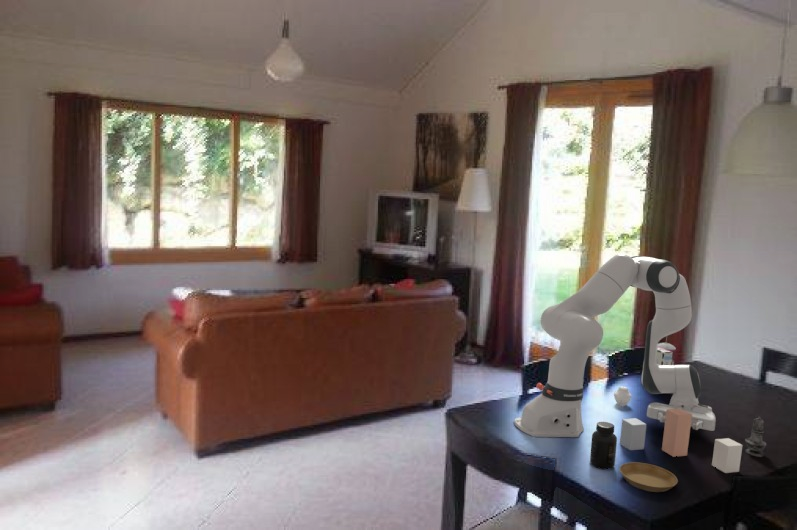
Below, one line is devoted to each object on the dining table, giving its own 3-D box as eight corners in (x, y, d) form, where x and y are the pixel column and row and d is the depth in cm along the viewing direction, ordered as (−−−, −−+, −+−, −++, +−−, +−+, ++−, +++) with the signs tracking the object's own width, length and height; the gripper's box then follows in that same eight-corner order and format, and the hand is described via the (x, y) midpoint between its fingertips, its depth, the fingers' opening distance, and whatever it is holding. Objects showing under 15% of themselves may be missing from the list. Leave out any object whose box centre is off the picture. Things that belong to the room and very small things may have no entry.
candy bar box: (669, 392, 254) (674, 352, 252) (658, 392, 252) (663, 352, 250) (650, 383, 264) (654, 344, 262) (640, 383, 263) (644, 345, 261)
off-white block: (725, 473, 183) (728, 446, 182) (711, 465, 187) (715, 439, 186) (738, 471, 184) (742, 445, 183) (725, 464, 189) (728, 438, 188)
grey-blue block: (630, 450, 195) (632, 425, 194) (619, 443, 199) (622, 419, 198) (643, 449, 196) (646, 424, 195) (633, 442, 201) (635, 418, 200)
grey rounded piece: (634, 406, 234) (636, 388, 234) (621, 408, 232) (623, 389, 231) (621, 401, 240) (623, 383, 239) (609, 402, 237) (611, 384, 236)
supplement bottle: (609, 459, 187) (613, 420, 185) (618, 470, 180) (622, 429, 179) (586, 458, 187) (590, 419, 185) (593, 469, 180) (598, 428, 178)
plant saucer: (638, 466, 184) (639, 457, 184) (687, 487, 173) (688, 478, 172) (607, 478, 175) (608, 469, 175) (657, 501, 164) (658, 492, 163)
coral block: (673, 456, 192) (678, 415, 190) (661, 449, 196) (666, 409, 195) (686, 455, 193) (692, 414, 192) (675, 448, 198) (680, 408, 196)
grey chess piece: (768, 458, 195) (773, 420, 193) (747, 455, 196) (752, 418, 194) (761, 450, 200) (766, 413, 199) (741, 447, 202) (746, 411, 200)
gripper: (650, 395, 217) (644, 406, 204) (717, 408, 207) (715, 421, 195) (648, 412, 217) (642, 425, 205) (714, 427, 208) (713, 441, 196)
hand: (678, 423), depth 200 cm, fingers open, 8 cm apart
